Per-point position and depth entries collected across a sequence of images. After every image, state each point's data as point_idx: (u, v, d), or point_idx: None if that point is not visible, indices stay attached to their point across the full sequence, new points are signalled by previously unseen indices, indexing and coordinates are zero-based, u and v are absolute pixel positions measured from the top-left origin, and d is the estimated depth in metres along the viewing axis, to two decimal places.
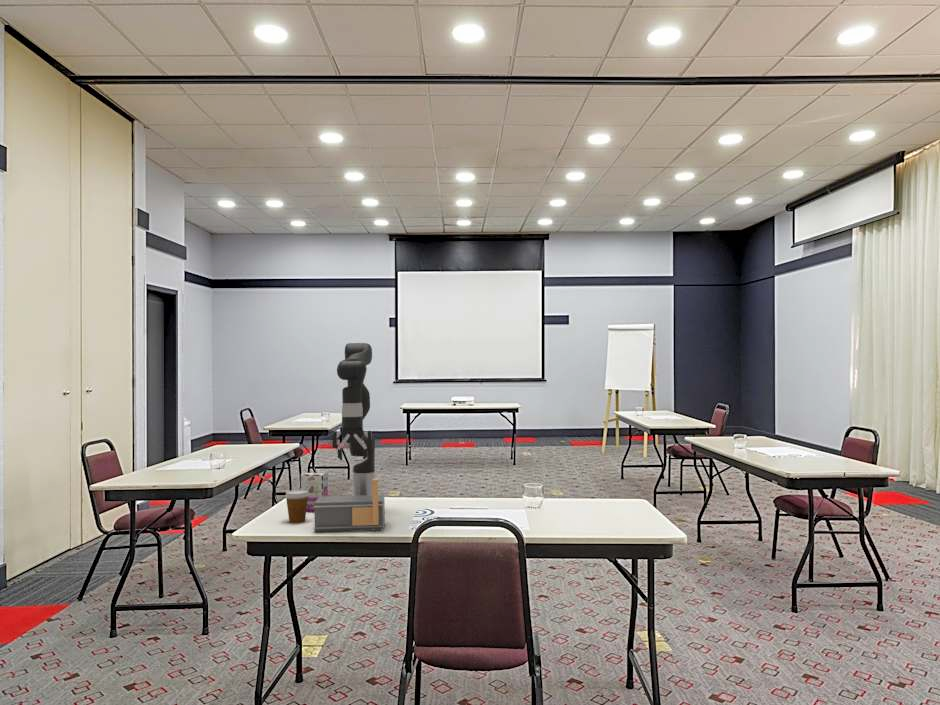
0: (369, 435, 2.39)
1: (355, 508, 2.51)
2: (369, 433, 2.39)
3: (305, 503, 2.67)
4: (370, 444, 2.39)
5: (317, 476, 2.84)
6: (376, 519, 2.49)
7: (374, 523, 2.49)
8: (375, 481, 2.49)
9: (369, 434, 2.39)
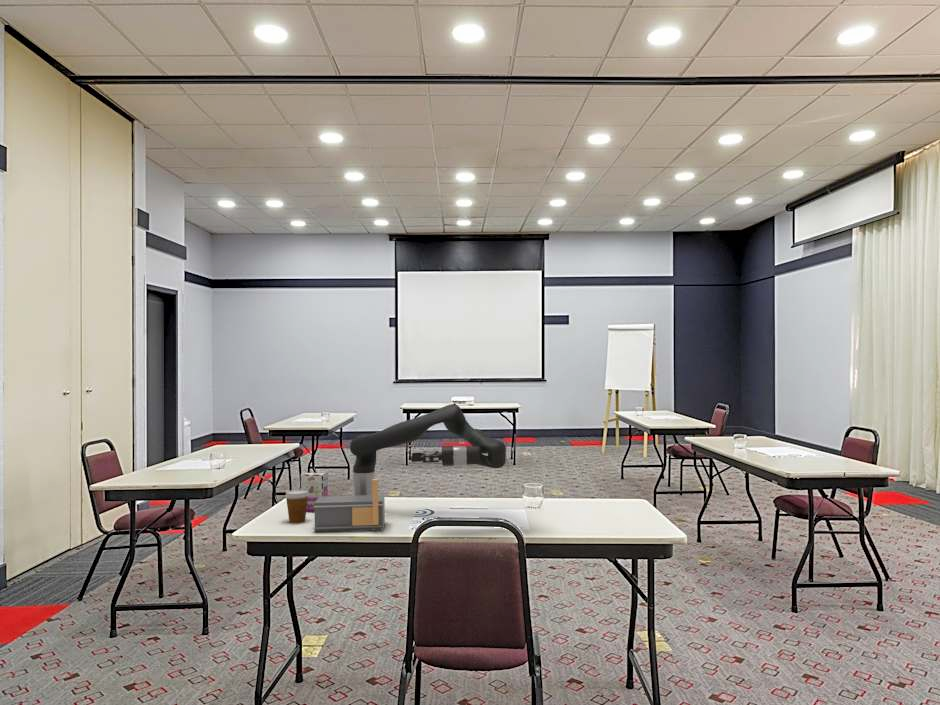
0: None
1: (355, 508, 2.51)
2: None
3: (305, 503, 2.67)
4: None
5: (317, 476, 2.84)
6: (376, 519, 2.49)
7: (374, 523, 2.49)
8: (375, 481, 2.49)
9: None
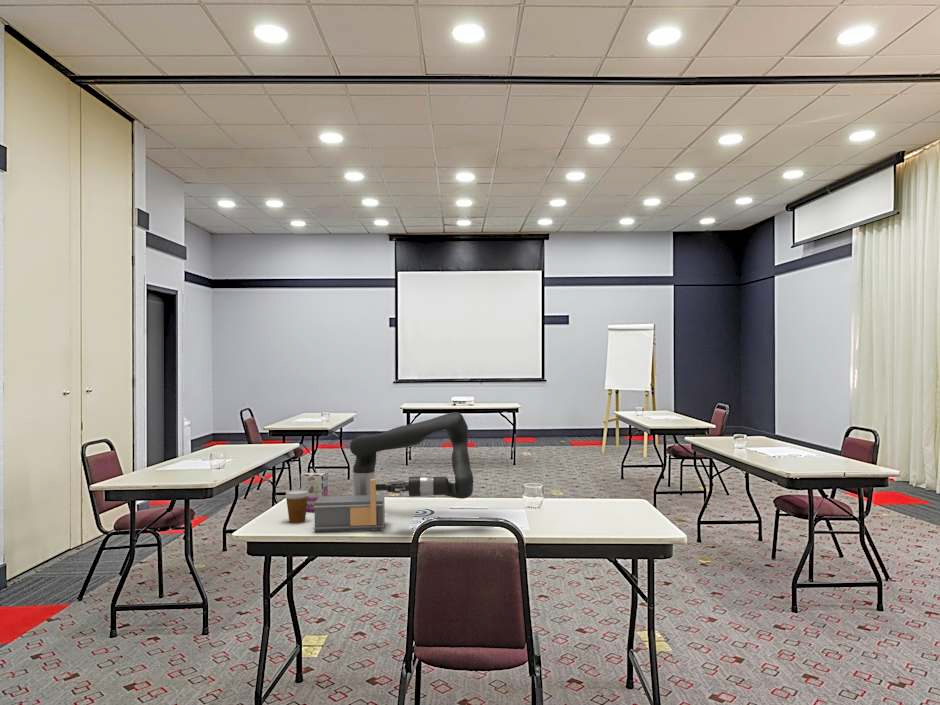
0: None
1: (353, 508, 2.51)
2: None
3: (305, 503, 2.67)
4: None
5: (317, 476, 2.84)
6: (374, 519, 2.49)
7: (372, 523, 2.49)
8: (373, 481, 2.49)
9: None
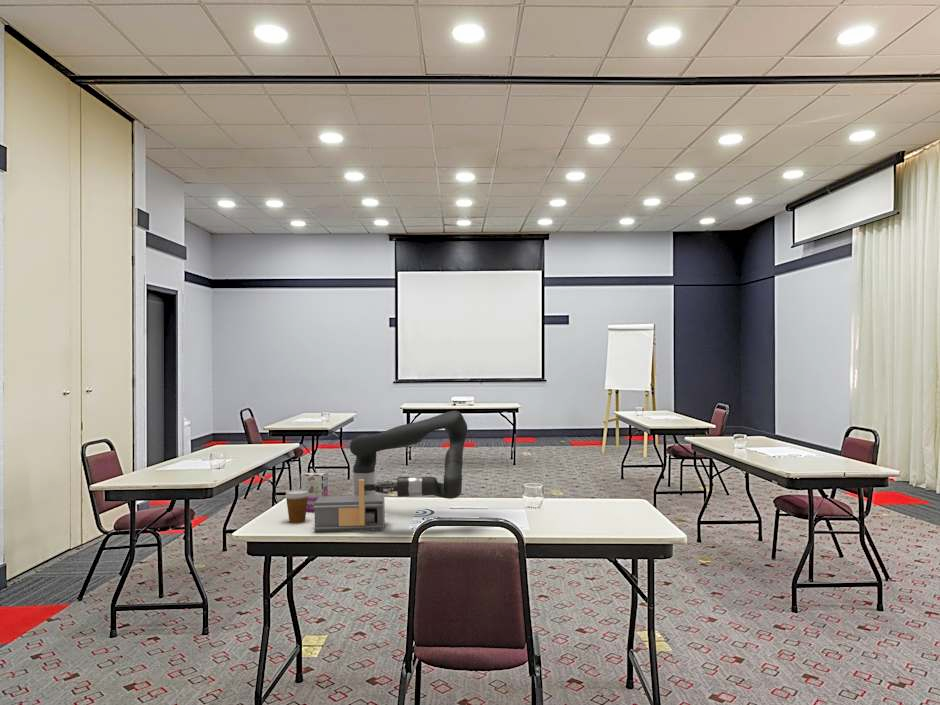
0: None
1: (341, 508, 2.51)
2: None
3: (305, 503, 2.67)
4: None
5: (317, 476, 2.84)
6: (362, 519, 2.49)
7: (360, 523, 2.48)
8: (362, 482, 2.49)
9: None
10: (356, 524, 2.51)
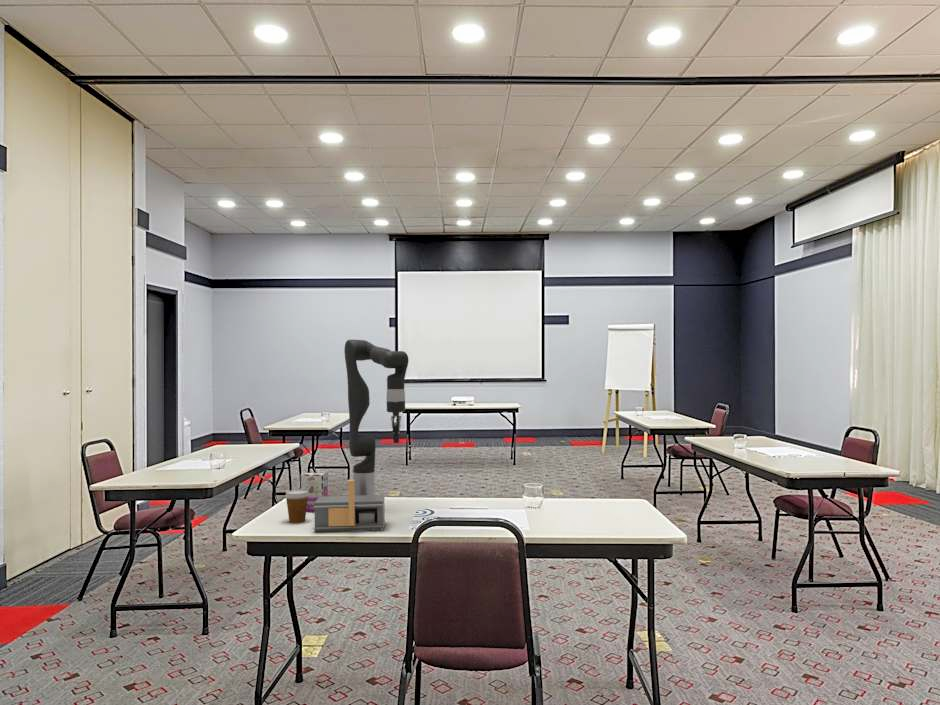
0: None
1: (331, 509, 2.51)
2: None
3: (305, 503, 2.67)
4: (399, 428, 2.69)
5: (317, 476, 2.84)
6: (352, 520, 2.48)
7: (350, 524, 2.48)
8: (352, 482, 2.48)
9: None
10: (346, 524, 2.51)
